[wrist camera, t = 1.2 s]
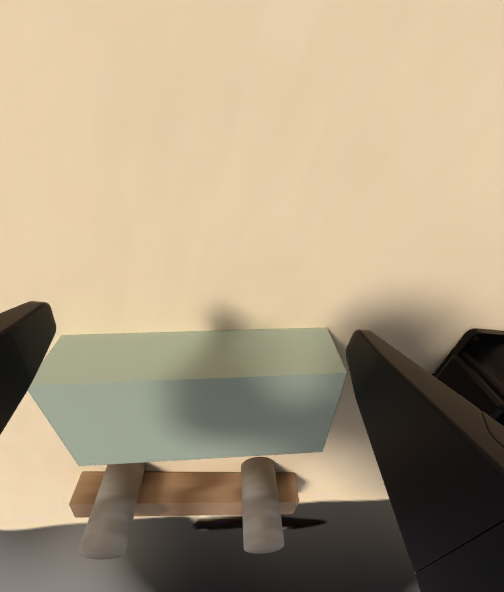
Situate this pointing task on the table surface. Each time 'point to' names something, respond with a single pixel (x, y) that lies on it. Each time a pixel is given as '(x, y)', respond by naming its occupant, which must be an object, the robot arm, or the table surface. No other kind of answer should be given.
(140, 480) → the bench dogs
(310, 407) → the painted plate block
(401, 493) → the robot arm
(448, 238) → the table surface
